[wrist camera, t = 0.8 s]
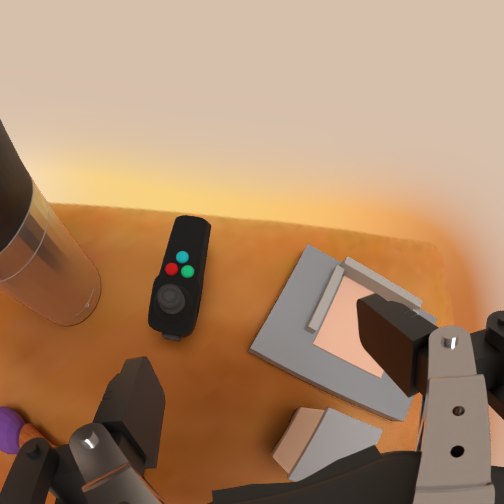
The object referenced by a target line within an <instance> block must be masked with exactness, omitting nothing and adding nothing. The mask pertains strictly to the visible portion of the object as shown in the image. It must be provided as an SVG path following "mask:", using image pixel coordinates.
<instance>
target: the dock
mask: <svg viewBox="0 0 504 504" xmlns="http://www.w3.org/2000/svg"><path fill="white" fill-rule="evenodd" d="M374 293H377V294H378V295H380V296H381V297H383V298H384V299H386V300H387V301H395V302H399V303H402V304H404V305H405V306H407V307H408V308H410V309H411V310H413V311H415V312H416V313H417V314H418V315H420V316H422V317H423V318H425V319H426V320H428V321H429V322H431V323H432V324H434V325H435V324H436V320H437V318H435V317H433V316H432V315H430V314H428V313H427V312H425V311H423V310H422V309H420V308H421V305H422V300H421V299H419V298H417V297H416V296H414V295H413V294H411V293H409V292H408V291H406V290H404V289H403V288H401V287H399V286H398V285H396V284H394V283H393V282H391V281H389V280H388V279H386V278H384V277H382V276H381V275H379V274H377V273H376V272H374V271H372V270H370V269H369V268H367V267H365V266H364V265H362V264H360V263H358V262H357V261H355V260H353V259H351V258H350V257H348V256H347V257H346V258H345V259H344V260H343V262H342V263H341V262H339V261H338V260H336V259H334V258H332V257H331V256H329V255H327V254H325V253H323V252H322V251H320V250H318V249H316V248H314V247H313V246H311V245H309V244H308V245H307V246H306V248H305V250H304V252H303V253H302V255H301V257H300V259H299V261H298V263H297V265H296V266H295V268H294V270H293V272H292V274H291V276H290V277H289V279H288V281H287V283H286V285H285V287H284V288H283V290H282V292H281V294H280V296H279V297H278V299H277V301H276V303H275V305H274V306H273V308H272V310H271V312H270V314H269V315H268V317H267V319H266V321H265V322H264V324H263V326H262V328H261V329H260V331H259V333H258V335H257V336H256V338H255V340H254V342H253V343H252V345H251V347H250V348H249V350H248V352H250V353H252V354H254V355H255V356H257V357H259V358H261V359H263V360H264V361H266V362H268V363H270V364H272V365H274V366H276V367H278V368H279V369H281V370H283V371H285V372H287V373H289V374H291V375H293V376H295V377H297V378H299V379H301V380H303V381H305V382H307V383H309V384H311V385H313V386H315V387H317V388H319V389H321V390H323V391H325V392H327V393H330V394H332V395H334V396H336V397H338V398H340V399H342V400H345V401H347V402H349V403H351V404H354V405H356V406H358V407H360V408H363V409H365V410H367V411H370V412H372V413H374V414H377V415H379V416H381V417H384V418H386V419H389V420H391V421H403V422H404V420H405V417H406V415H407V412H408V410H409V407H410V405H411V402H412V399H413V397H414V395H413V396H411V397H409V398H408V397H407V396H406V395H405V394H404V392H403V391H402V390H401V389H400V388H399V387H398V386H397V385H396V384H395V382H394V381H393V380H392V379H391V378H390V377H389V376H388V375H387V374H386V372H385V371H384V370H383V369H382V368H381V367H380V366H379V365H378V364H377V363H376V361H375V360H374V359H373V358H372V357H371V356H370V355H369V354H368V353H367V352H366V351H365V349H364V348H363V346H362V344H361V342H360V338H359V330H358V318H357V308H356V302H357V300H358V299H360V298H362V297H365V296H368V295H371V294H374Z"/></svg>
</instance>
